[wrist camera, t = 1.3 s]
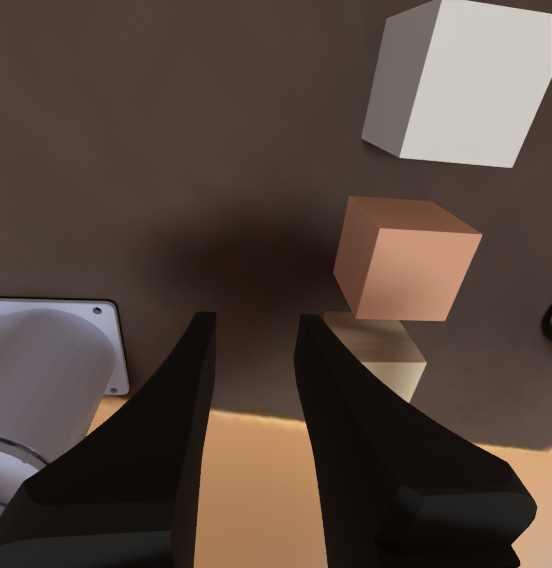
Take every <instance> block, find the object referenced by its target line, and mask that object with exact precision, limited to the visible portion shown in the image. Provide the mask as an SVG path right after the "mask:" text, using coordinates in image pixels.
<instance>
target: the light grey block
mask: <svg viewBox="0 0 552 568" xmlns="http://www.w3.org/2000/svg"><path fill="white" fill-rule="evenodd" d="M551 78H552V14H548V13H542V12H536V11H529V10H523V9H517V8H510V7H504V6H498V5H492V4H485V3H479V2H473V1H466V0H433V1H431V2H428V3H425V4H423V5H420V6H418V7H415V8H412V9H410V10H407V11H405V12H402V13H400V14H397V15H394V16H392V17H389V18H387V19H386V24H385V29H384V33H383V38H382V43H381V48H380V52H379V57H378V62H377V66H376V71H375V76H374V81H373V85H372V90H371V95H370V100H369V104H368V109H367V114H366V119H365V123H364V128H363V133H362V138H361V139H363V140H365V141H367V142H369V143H371V144H373V145H375V146H377V147H379V148H381V149H383V150H385V151H387V152H389V153H391V154H393V155H395V156H397V157H399V158H408V159H419V160H430V161H442V162H453V163H464V164H475V165H486V166H497V167H508V168H512V167H513V164H514V162H515V160H516V158H517V155H518V153H519V151H520V148H521V146H522V144H523V142H524V139H525V137H526V135H527V133H528V130H529V128H530V126H531V123H532V121H533V119H534V117H535V114H536V112H537V110H538V107H539V105H540V103H541V101H542V98H543V96H544V94H545V91H546V89H547V87H548V85H549V82H550V80H551Z"/></svg>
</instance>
